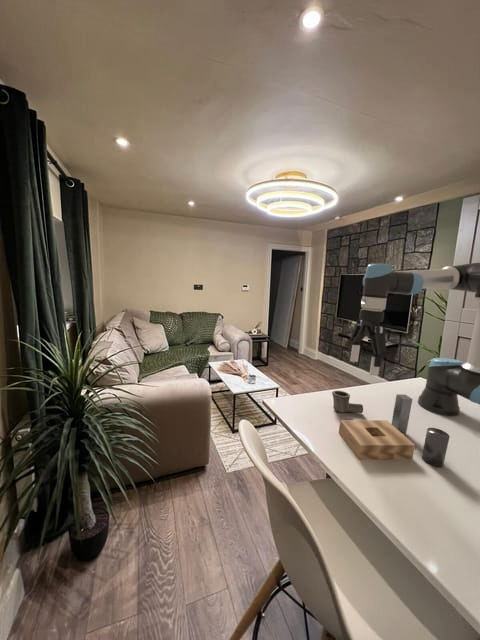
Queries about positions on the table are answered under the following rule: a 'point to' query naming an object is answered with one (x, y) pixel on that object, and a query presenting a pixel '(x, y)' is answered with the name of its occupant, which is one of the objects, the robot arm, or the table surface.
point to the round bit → (435, 447)
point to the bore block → (375, 440)
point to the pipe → (345, 403)
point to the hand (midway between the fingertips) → (363, 367)
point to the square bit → (401, 412)
